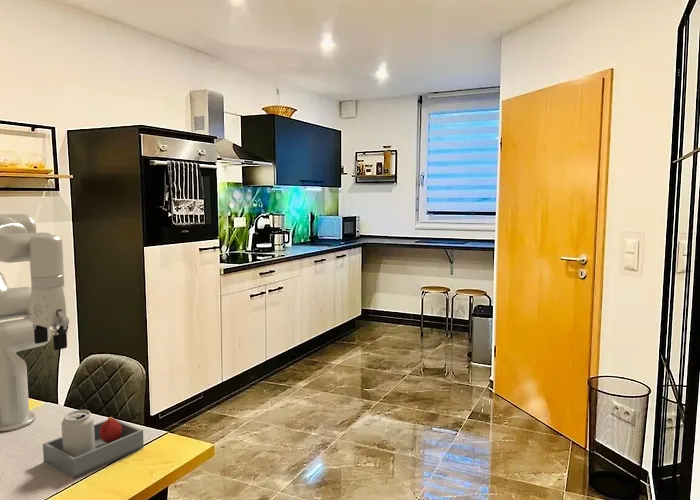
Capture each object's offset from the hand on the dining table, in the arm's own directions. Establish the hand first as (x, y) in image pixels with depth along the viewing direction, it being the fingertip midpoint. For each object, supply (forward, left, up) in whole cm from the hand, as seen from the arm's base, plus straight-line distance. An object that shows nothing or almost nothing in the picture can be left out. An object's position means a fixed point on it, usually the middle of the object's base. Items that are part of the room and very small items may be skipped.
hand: (50, 345), depth 138 cm
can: (+9, +1, -29) cm, 31 cm away
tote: (+10, +5, -30) cm, 32 cm away
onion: (+9, +10, -29) cm, 32 cm away
